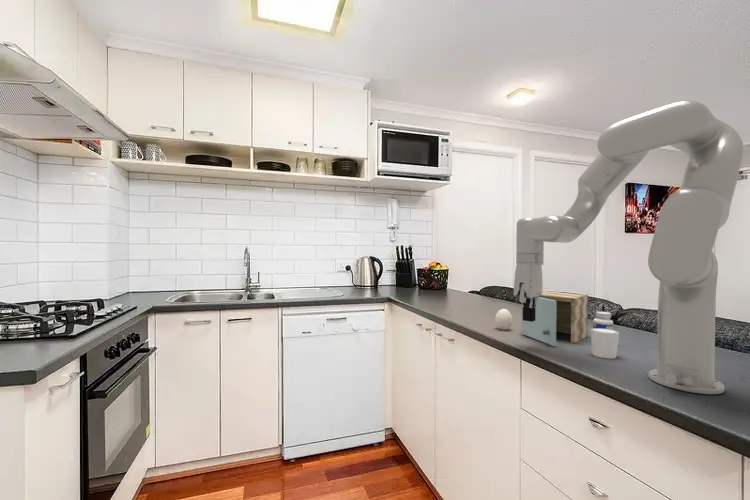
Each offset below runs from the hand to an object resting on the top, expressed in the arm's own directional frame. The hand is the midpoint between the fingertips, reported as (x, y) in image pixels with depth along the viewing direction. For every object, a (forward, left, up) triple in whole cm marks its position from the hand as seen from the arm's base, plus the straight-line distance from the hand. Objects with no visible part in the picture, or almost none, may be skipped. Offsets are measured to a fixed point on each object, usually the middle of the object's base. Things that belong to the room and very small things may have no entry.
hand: (528, 320), depth 106 cm
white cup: (+8, -18, -8) cm, 21 cm away
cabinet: (+22, 0, -8) cm, 24 cm away
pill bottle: (+23, -14, -8) cm, 28 cm away
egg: (+17, +16, -8) cm, 25 cm away
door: (+10, +2, -8) cm, 13 cm away
